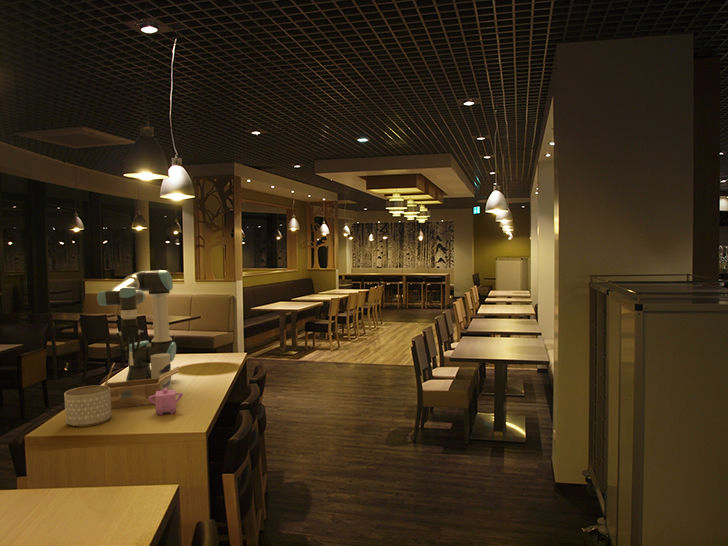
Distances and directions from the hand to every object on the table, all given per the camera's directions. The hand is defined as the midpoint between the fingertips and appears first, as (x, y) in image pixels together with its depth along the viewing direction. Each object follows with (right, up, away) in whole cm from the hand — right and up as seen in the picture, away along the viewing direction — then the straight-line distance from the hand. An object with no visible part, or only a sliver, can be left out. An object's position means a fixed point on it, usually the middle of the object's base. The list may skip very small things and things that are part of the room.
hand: (131, 365), depth 290 cm
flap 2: (+12, -8, +4) cm, 15 cm away
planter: (-8, -21, -29) cm, 36 cm away
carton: (+1, -19, +1) cm, 19 cm away
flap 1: (-12, -9, -3) cm, 15 cm away
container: (+7, -18, +23) cm, 30 cm away
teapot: (+23, -20, -18) cm, 35 cm away
